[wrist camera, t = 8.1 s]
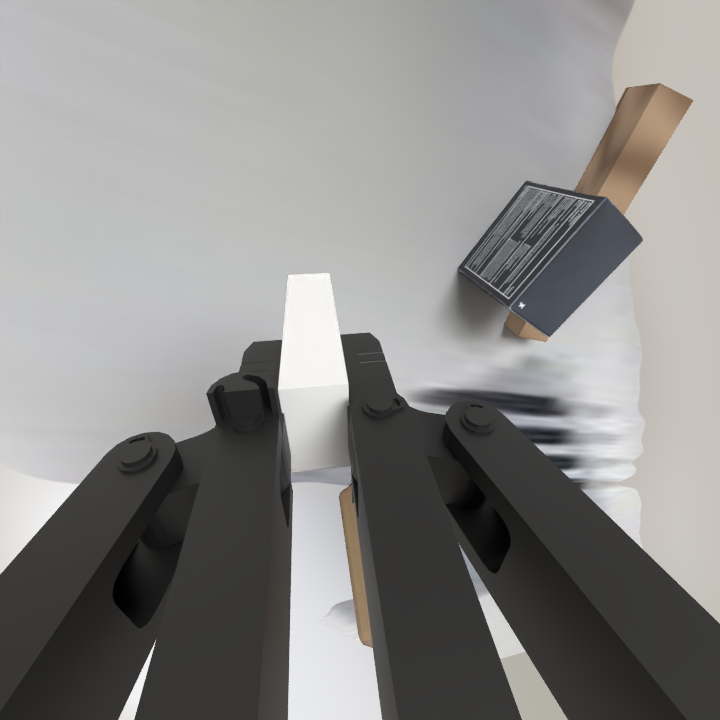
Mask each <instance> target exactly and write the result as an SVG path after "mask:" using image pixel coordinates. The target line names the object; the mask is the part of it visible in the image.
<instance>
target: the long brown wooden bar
mask: <svg viewBox="0 0 720 720" xmlns="http://www.w3.org/2000/svg"><path fill="white" fill-rule="evenodd" d="M692 102H693V100H691V99H690V98H688V97H686V96H684V95H682V94H680V93H678V92H676V91H674V90H672V89H670V88H668V87H666V86H664V85H662V84H660V83H659V84H651V85H644V86H635V87H627V88H626V89H625V91H624V93H623V95H622V97H621V99H620V100H619V102H618V104H617V106H616V113H615V115H614V117H613V119H612V121H611V123H610V125H609V127H608V128H607V130H606V132H605V134H604V136H603V138H602V140H601V142H600V144H599V146H598V147H597V149H596V151H595V153H594V155H593V157H592V159H591V161H590V163H589V165H588V166H587V168H586V170H585V172H584V174H583V176H582V178H581V180H580V182H579V183H578V185H577V187H576V189H575V192H577V193H584V194H588V195H589V194H590V195H594V196H603V197H608V198H609V199H610V200H611V202H612V203H613V204H614V205H615V206H616V207H617V209H618V210H619V211H620V212H621V213H622V214H623V215H624V213H625V211H626V210H627V208H628V207H629V205H630V203H631V202H632V200H633V198H634V197H635V195H636V193H637V192H638V190H639V188H640V187H641V185H642V183H643V182H644V180H645V179H646V177H647V175H648V174H649V172H650V170H651V169H652V167H653V166H654V164H655V162H656V161H657V159H658V157H659V156H660V154H661V152H662V151H663V149H664V147H665V146H666V144H667V142H668V141H669V139H670V138H671V136H672V134H673V133H674V131H675V129H676V128H677V126H678V124H679V123H680V121H681V120H682V118H683V116H684V115H685V113H686V111H687V110H688V108H689V106H690V105H691V103H692ZM504 325H506V326H507V327H508V328H509V329H510V330H511V331H512V332H513V333H515V334H516V335H517V336H518V337H522V338H528V339H533V340H538V341H543V342H546V341H547V339H548V338H549V337H546V336H545V335H544V334H542V333H541V332H539V331H538V330H537V329H535V328H534V327H533V326H531V325H530V324H528V323H527V322H526V321H524V320H523V319H521V318H520V317H519V316H517V315H516V314H514V313H513V312H510V314H509V316H508V318H507V320H506V322H505V324H504Z"/></svg>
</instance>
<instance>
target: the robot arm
mask: <svg viewBox="0 0 720 720" xmlns="http://www.w3.org/2000/svg"><path fill="white" fill-rule="evenodd" d="M241 364H242V365H241V367H240V371H239V372H238V373H233V374H230V375H228V376H225V377H223V378H221V379H219V380H218V381H217V382H215V383H214V384H213V385H212V386H211V387H210V389H209V390H208V392H207V393H206V394H207V397H208V400H209V404H210V407H211V410H212V413H213V416H214V419H215V422H216V425H215V428H213V429H211V430H210V431H208V432H206V433H204V434H201V435H199V436H196V437H193V438H190V439H187V440H184V441H181V442H178V443H175V441H174V440H173V439H172V438H171V437H170V436H169V435H167V434H164V433H160V432H149V433H143V434H139V435H136V436H133V437H130V438H128V439H126V440H125V441H123V442H121V443H119V444H117V445H116V446H115V447H114V448H113V449H112V450H110V451H109V452H108V453H107V454H106V455H105V456H104V457H103V458H102V460H101V461H100V462H99V463H98V464H97V465H96V466H95V467H94V469H93V470H92V471H91V472H90V473H89V474H88V475H87V477H86V478H85V479H84V480H83V481H82V482H81V483H80V485H79V486H78V487H77V488H76V489H75V490H74V491H73V493H72V494H71V495H70V496H69V497H68V498H67V499H66V501H65V502H64V503H63V504H62V505H61V506H60V507H59V508H58V510H57V511H56V512H55V513H54V514H53V515H52V517H51V518H50V519H49V520H48V521H47V522H46V523H45V525H44V526H43V527H42V528H41V529H40V530H39V531H38V532H37V534H36V535H35V536H34V537H33V538H32V539H31V540H30V541H29V543H28V544H27V545H26V546H25V547H24V548H23V550H22V551H21V552H20V553H19V554H18V555H17V556H16V557H15V559H14V560H13V561H12V562H11V563H10V564H9V566H7V568H6V569H5V570H4V571H3V572H2V573H1V574H0V720H118V719H119V716H120V714H121V712H122V710H123V708H124V706H125V704H126V702H127V700H128V698H129V695H130V693H131V691H132V689H133V687H134V685H135V683H136V680H137V679H138V676H139V674H140V672H141V669H142V668H143V666H144V664H145V662H146V660H147V657H148V655H149V653H150V651H151V649H152V647H153V645H154V643H155V640H156V643H155V647H154V651H153V654H152V658H151V661H150V665H149V668H148V672H147V676H146V679H145V683H144V687H143V691H142V694H141V697H140V701H139V705H138V708H137V712H136V716H135V719H134V720H288V683H289V681H288V680H289V637H290V636H289V635H290V593H291V547H292V543H291V542H292V503H293V490H292V485H291V479H290V476H291V468H292V472H299V471H308V470H318V469H327V468H336V467H345V466H351V473H352V503H354V506H355V513H356V521H357V529H358V536H359V544H360V552H361V560H362V567H363V575H364V583H365V590H366V598H367V606H368V613H369V621H370V629H371V637H372V644H373V652H374V660H375V666H376V675H377V682H378V690H379V698H380V705H381V713H382V720H522V719H521V716H520V714H519V711H518V708H517V705H516V702H515V699H514V697H513V694H512V691H511V688H510V686H509V683H508V680H507V678H506V675H505V672H504V669H503V666H502V663H501V661H500V658H499V655H498V652H497V649H496V647H495V644H494V641H493V638H492V636H491V633H490V630H489V627H488V625H487V622H486V619H485V616H484V613H483V611H482V608H481V605H480V602H479V600H478V597H477V594H476V591H475V588H474V586H473V583H472V580H471V577H470V575H469V572H468V569H467V566H466V563H465V561H464V558H463V555H462V552H461V550H460V547H459V544H460V546H461V548H462V549H463V551H464V552H465V554H466V556H467V557H468V559H469V561H470V562H471V564H472V565H473V567H474V569H475V570H476V572H477V573H478V575H479V577H480V578H481V580H482V581H483V583H484V585H485V586H486V588H487V590H488V591H489V593H490V594H491V596H492V598H493V599H494V601H495V602H496V604H497V606H498V607H499V609H500V611H501V612H502V614H503V615H504V617H505V619H506V620H507V622H508V623H509V625H510V627H511V628H512V630H513V632H514V633H515V635H516V636H517V638H518V640H519V641H520V643H521V644H522V646H523V648H524V649H525V651H526V652H527V654H528V656H529V657H530V659H531V661H532V662H533V664H534V665H535V667H536V669H537V670H538V672H539V673H540V675H541V677H542V678H543V680H544V681H545V683H546V685H547V686H548V688H549V690H550V691H551V693H552V694H553V696H554V698H555V699H556V700H557V703H558V704H559V706H560V707H561V709H562V711H563V712H564V714H565V715H566V717H567V719H568V720H720V624H719V623H718V622H717V621H716V620H715V619H714V618H713V617H712V616H711V615H710V614H709V613H708V612H707V611H706V610H705V609H704V608H703V607H702V606H701V605H700V604H699V603H698V602H697V601H696V600H695V599H693V598H692V597H691V596H690V595H689V594H688V593H687V592H686V591H685V590H684V589H683V588H682V587H681V586H680V585H679V584H678V583H677V582H676V581H675V580H674V579H673V578H672V577H671V576H670V575H669V574H668V573H666V571H664V570H663V569H662V568H661V567H660V566H659V565H658V564H657V563H656V562H655V561H654V560H653V559H652V558H651V557H650V556H649V555H648V554H647V553H646V552H645V551H644V550H643V549H642V548H641V547H640V546H639V545H638V544H637V543H636V542H635V541H634V540H632V539H631V538H630V537H629V536H628V535H627V534H626V533H625V532H624V531H623V530H622V529H621V528H620V527H619V526H618V525H617V524H616V523H615V522H614V521H613V520H612V519H611V518H610V517H609V516H608V515H607V514H606V513H605V512H604V511H603V510H601V509H600V508H599V507H598V506H597V505H596V504H595V503H594V502H593V501H592V500H591V499H590V498H589V497H588V496H587V495H586V494H585V493H584V492H583V491H582V490H581V489H580V488H579V487H578V486H577V485H576V484H575V483H574V482H573V481H571V480H570V479H569V478H568V477H567V476H566V475H565V474H564V473H563V472H562V471H561V470H560V469H559V468H558V467H557V466H556V465H555V464H554V463H553V462H552V461H551V460H550V459H549V458H548V457H547V456H546V455H545V454H544V453H543V452H542V451H540V450H539V449H538V448H537V447H536V446H535V445H534V444H533V443H532V442H531V441H530V440H529V439H528V438H527V437H526V436H525V435H524V434H523V433H522V432H521V431H520V430H519V429H518V428H517V427H516V426H515V425H514V424H513V423H512V422H510V421H509V420H508V419H507V418H506V417H505V416H504V415H503V414H502V413H501V412H499V411H498V410H497V409H495V408H494V407H492V406H489V405H487V404H484V403H482V402H475V401H465V402H459V403H457V404H455V405H453V406H451V407H450V408H449V410H448V411H447V412H446V415H441V414H434V413H428V412H423V411H419V410H416V409H414V408H412V407H410V406H409V405H408V404H407V402H406V401H405V399H404V398H403V397H401V396H400V395H398V394H397V392H396V389H395V386H394V383H393V380H392V377H391V374H390V371H389V369H388V366H387V363H386V361H385V357H384V354H383V351H382V348H381V345H380V342H379V340H377V339H376V338H375V337H374V336H373V335H372V334H371V333H358V334H344V335H340V331H339V326H338V320H337V314H336V308H335V302H334V296H333V290H332V285H331V279H330V273H316V274H296V275H288V282H287V294H286V305H285V316H284V327H283V339H282V340H274V341H260V342H253V343H252V344H251V345H250V346H249V347H248V348H247V349H246V350H245V352H244V354H243V358H242V363H241ZM458 543H459V544H458ZM156 638H157V639H156Z"/></svg>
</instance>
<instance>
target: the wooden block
mask: <svg viewBox="0 0 720 720" xmlns="http://www.w3.org/2000/svg"><path fill="white" fill-rule="evenodd" d="M339 500H340V507H341V514H342V521H343V528H344V535H345V542H346V549H347V557H348V564H349V570H350V578H351V585H352V592H353V599H354V606H355V614H356V621H357V628H358V635H359V638H360V640H361V642H362V643H363V645H366V646H369V647H372V648H373V644H372V637H371V629H370V621H369V613H368V606H367V598H366V590H365V583H364V575H363V567H362V560H361V552H360V544H359V536H358V529H357V521H356V513H355V506H354V503H352V485H350V486H349V487H347V488H346V489H344V490H343V491H342V492H341V493H340V496H339Z"/></svg>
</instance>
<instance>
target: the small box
mask: <svg viewBox="0 0 720 720" xmlns="http://www.w3.org/2000/svg"><path fill="white" fill-rule="evenodd" d="M642 241H643V238H642V237H641V236H640V234H639V233H638V232H637V230H636V229H635V228H634V227H633V226H632V225H631V224H630V222H629V221H628V220H627V219H626V218H625V217H624V215H623V214H622V213H621V212H620V211H619V210H618V209H617V207H616V206H615V205H614V204H613V203H612V202H611V200H610V199H609V198H608V197H603V196H594V195H590V194H589V195H588V194H584V193H577V192H575V191H571V190H565V189H561V188H556V187H550V186H547V185H541V184H536V183H533V182H531V181H526V182H525V183H524V185H523V186H522V187H521V189H520V190H519V191H518V192H517V193H516V195H515V196H514V197H513V199H512V200H511V201H510V203H509V204H508V205H507V206H506V208H505V209H504V210H503V211H502V213H501V214H500V215H499V217H498V218H497V219H496V220H495V222H494V223H493V224H492V226H491V227H490V228H489V230H488V231H487V232H486V233H485V235H484V236H483V237H482V238H481V240H480V241H479V242H478V244H477V245H476V246H475V247H474V249H473V250H472V251H471V253H470V254H469V255H468V257H467V258H466V259H465V260H464V262H463V263H462V264H461V266H460V267H459V273H461V274H463V275H464V276H466V277H467V278H469V279H470V280H471V281H473V282H474V283H475V284H476V285H478V286H479V287H480V288H481V289H483V290H484V291H485V292H487V293H488V294H489V295H491V296H492V297H493V298H494V299H496V300H497V301H498V302H500V303H501V304H502V305H504V306H505V307H506V308H507V309H508V310H510V311H511V312H513V313H514V314H516V315H517V316H519V317H520V318H521V319H523V320H524V321H526V322H527V323H528V324H530V325H531V326H533V327H534V328H535V329H537V330H538V331H539V332H541V333H542V334H544V335H545V336H546V337H550V336H551V335H552V334H553V333H554V332H555V331H556V330H557V329H558V328H559V327H560V326H561V325H562V324H563V323H564V322H565V321H566V320H567V319H568V317H569V316H570V315H571V314H572V313H573V312H574V311H575V310H576V309H577V308H578V307H579V306H580V305H581V304H582V303H583V302H584V301H585V300H586V299H587V298H588V297H589V296H590V295H591V294H592V293H593V292H594V291H595V290H596V288H597V287H598V286H599V285H600V284H601V283H602V282H603V281H604V280H605V279H606V278H607V277H608V276H609V275H610V274H611V273H612V272H613V271H614V270H615V269H616V268H617V267H618V266H619V265H620V264H621V263H622V262H623V261H624V260H625V259H626V258H627V256H628V255H629V254H630V253H631V252H632V251H633V250H634V249H635V248H636V247H637V246H638V245H639V244H640V243H641V242H642Z"/></svg>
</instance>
